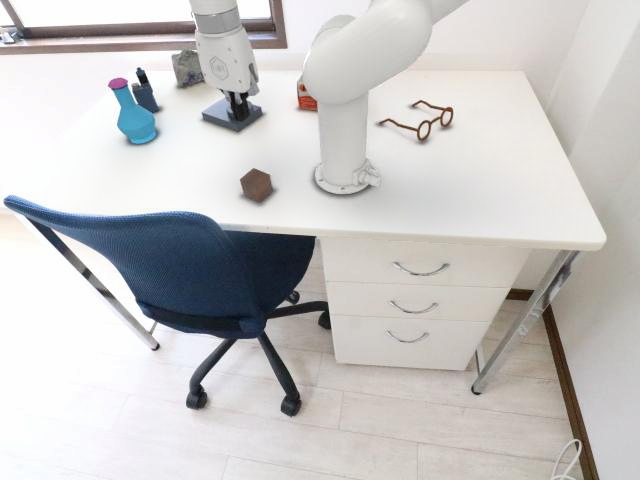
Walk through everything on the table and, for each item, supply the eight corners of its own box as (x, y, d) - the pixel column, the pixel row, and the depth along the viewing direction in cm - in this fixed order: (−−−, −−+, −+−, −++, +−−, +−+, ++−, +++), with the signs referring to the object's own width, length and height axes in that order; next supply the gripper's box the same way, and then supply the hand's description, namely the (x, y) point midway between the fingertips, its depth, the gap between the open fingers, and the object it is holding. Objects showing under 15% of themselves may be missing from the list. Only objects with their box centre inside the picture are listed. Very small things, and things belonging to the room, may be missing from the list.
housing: (263, 114, 103) (261, 101, 100) (239, 132, 97) (236, 118, 94) (228, 103, 108) (224, 90, 105) (203, 119, 103) (199, 106, 100)
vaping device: (160, 110, 107) (143, 69, 99) (142, 115, 106) (123, 73, 97) (160, 106, 109) (143, 65, 100) (141, 111, 108) (122, 69, 99)
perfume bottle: (150, 147, 95) (123, 91, 84) (118, 145, 97) (88, 89, 86) (166, 127, 101) (144, 72, 90) (136, 125, 103) (110, 71, 91)
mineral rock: (223, 74, 121) (215, 41, 114) (211, 90, 114) (202, 56, 107) (187, 73, 123) (176, 41, 116) (173, 88, 116) (161, 55, 109)
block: (273, 190, 81) (269, 174, 78) (259, 202, 79) (255, 186, 75) (257, 184, 83) (253, 167, 79) (244, 195, 80) (239, 179, 77)
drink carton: (298, 109, 103) (295, 81, 97) (308, 95, 108) (305, 67, 102) (351, 115, 100) (351, 86, 94) (358, 100, 105) (359, 72, 99)
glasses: (418, 145, 89) (421, 126, 85) (378, 124, 96) (379, 106, 92) (452, 124, 94) (457, 105, 90) (413, 105, 101) (415, 87, 97)
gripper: (170, 23, 64) (203, 120, 77) (240, 32, 58) (262, 135, 72) (198, 9, 68) (225, 103, 81) (266, 16, 62) (282, 116, 76)
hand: (242, 118), depth 77 cm, fingers closed
